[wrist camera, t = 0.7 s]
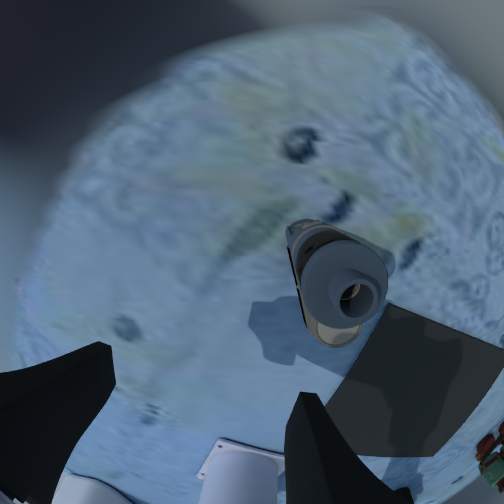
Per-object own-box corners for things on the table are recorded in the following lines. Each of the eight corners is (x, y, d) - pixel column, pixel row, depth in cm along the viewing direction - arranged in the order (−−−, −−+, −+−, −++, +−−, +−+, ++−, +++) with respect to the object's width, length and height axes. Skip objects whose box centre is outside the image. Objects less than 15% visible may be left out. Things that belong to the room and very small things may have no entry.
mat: (431, 454, 21) (432, 456, 21) (295, 443, 21) (295, 446, 21) (509, 352, 18) (511, 353, 17) (388, 302, 18) (390, 304, 17)
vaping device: (319, 210, 17) (401, 233, 5) (335, 287, 18) (405, 406, 6) (280, 220, 17) (290, 261, 6) (298, 296, 18) (324, 430, 7)
